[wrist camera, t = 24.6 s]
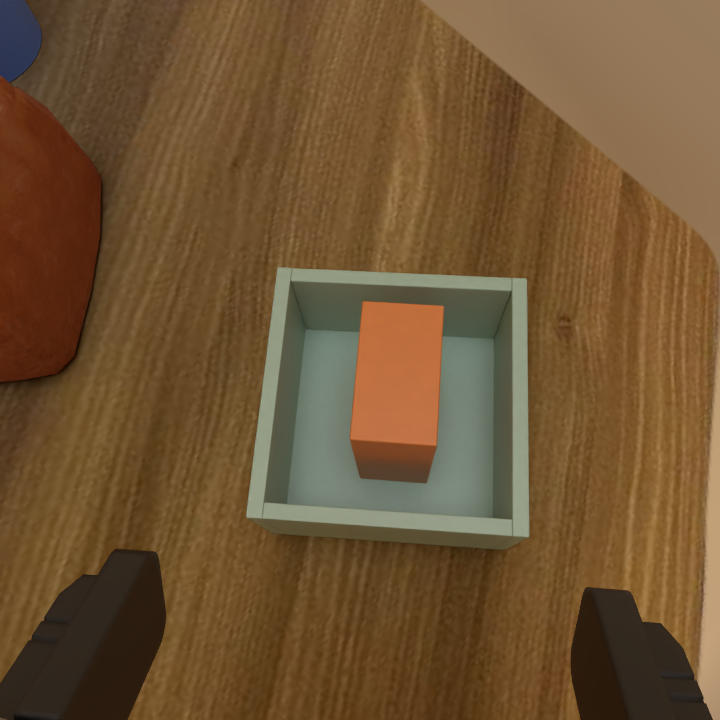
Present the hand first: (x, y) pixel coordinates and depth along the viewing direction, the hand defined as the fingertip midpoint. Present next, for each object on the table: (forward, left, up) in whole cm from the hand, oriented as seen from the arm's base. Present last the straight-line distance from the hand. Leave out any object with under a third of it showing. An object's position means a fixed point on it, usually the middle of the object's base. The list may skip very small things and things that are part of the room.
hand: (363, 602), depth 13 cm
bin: (0, -10, -27) cm, 29 cm away
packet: (0, -10, -27) cm, 29 cm away
